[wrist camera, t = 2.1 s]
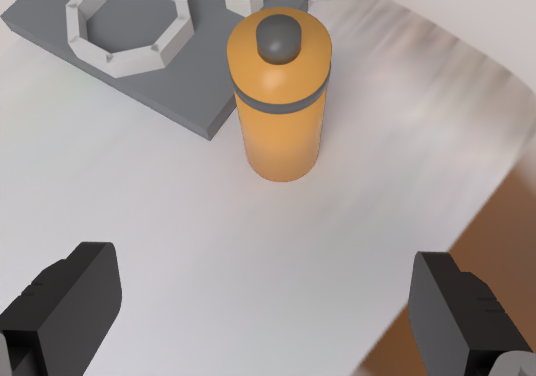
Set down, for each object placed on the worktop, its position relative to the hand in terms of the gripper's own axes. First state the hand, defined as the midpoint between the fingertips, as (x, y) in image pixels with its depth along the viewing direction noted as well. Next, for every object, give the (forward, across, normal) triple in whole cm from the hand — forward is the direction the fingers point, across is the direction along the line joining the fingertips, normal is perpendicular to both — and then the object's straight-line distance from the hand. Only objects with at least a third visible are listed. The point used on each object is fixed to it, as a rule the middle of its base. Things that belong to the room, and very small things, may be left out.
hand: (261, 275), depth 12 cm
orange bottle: (+18, 0, +2) cm, 18 cm away
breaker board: (+26, +10, -6) cm, 28 cm away
